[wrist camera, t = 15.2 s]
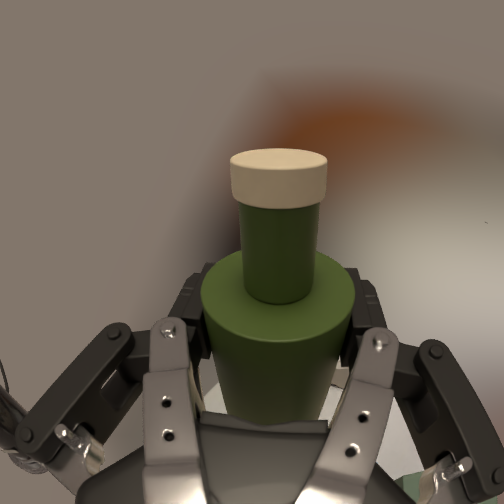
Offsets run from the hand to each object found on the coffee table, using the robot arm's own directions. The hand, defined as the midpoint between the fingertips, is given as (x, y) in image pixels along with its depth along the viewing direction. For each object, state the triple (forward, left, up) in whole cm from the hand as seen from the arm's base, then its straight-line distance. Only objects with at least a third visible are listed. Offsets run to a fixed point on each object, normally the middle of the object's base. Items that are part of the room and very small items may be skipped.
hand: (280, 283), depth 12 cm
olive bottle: (0, -3, -7) cm, 7 cm away
